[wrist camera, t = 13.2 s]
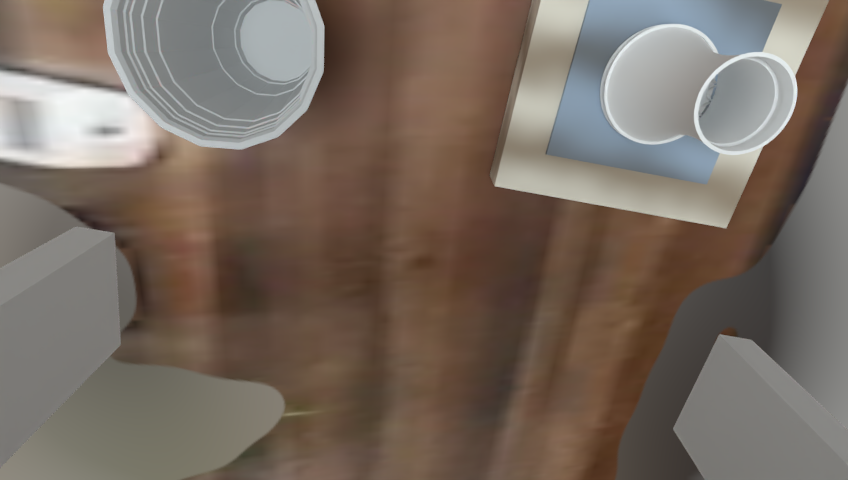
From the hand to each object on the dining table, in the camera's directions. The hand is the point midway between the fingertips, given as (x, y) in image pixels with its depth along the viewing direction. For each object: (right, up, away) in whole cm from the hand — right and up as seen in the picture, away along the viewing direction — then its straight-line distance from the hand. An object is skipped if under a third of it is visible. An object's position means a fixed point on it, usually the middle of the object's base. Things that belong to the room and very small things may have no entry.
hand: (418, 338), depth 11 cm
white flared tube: (+16, +13, +22) cm, 30 cm away
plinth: (+16, +14, +25) cm, 33 cm away
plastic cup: (-10, +17, +24) cm, 31 cm away
